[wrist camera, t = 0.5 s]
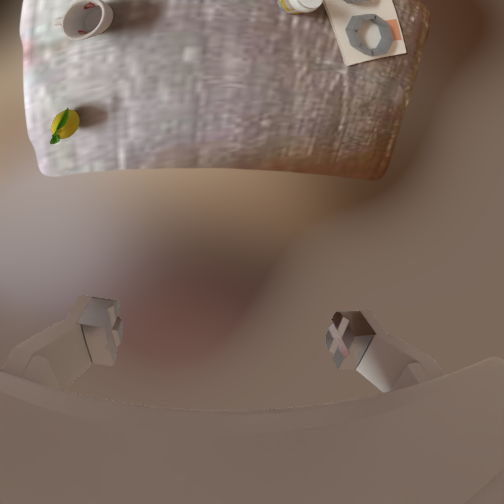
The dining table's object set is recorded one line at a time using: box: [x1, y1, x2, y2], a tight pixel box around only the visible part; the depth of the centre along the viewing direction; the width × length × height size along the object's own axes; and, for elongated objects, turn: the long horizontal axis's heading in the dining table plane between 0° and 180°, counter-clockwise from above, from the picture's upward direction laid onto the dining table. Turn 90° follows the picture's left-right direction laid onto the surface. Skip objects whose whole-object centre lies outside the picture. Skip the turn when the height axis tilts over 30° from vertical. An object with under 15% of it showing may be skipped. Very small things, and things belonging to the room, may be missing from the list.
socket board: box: [322, 0, 406, 66], centre depth 33 cm, size 24×16×4 cm, turn 23°
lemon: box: [50, 108, 80, 144], centre depth 38 cm, size 7×6×10 cm
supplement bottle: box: [278, 0, 323, 14], centre depth 31 cm, size 5×5×10 cm
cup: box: [54, 0, 113, 40], centre depth 26 cm, size 11×8×8 cm
